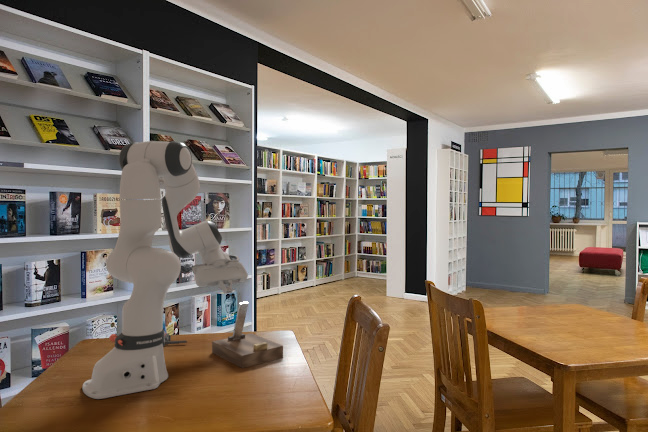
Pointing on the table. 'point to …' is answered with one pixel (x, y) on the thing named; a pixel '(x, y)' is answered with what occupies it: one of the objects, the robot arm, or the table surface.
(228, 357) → the base
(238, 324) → the strap
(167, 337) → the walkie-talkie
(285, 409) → the table surface
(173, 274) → the robot arm
